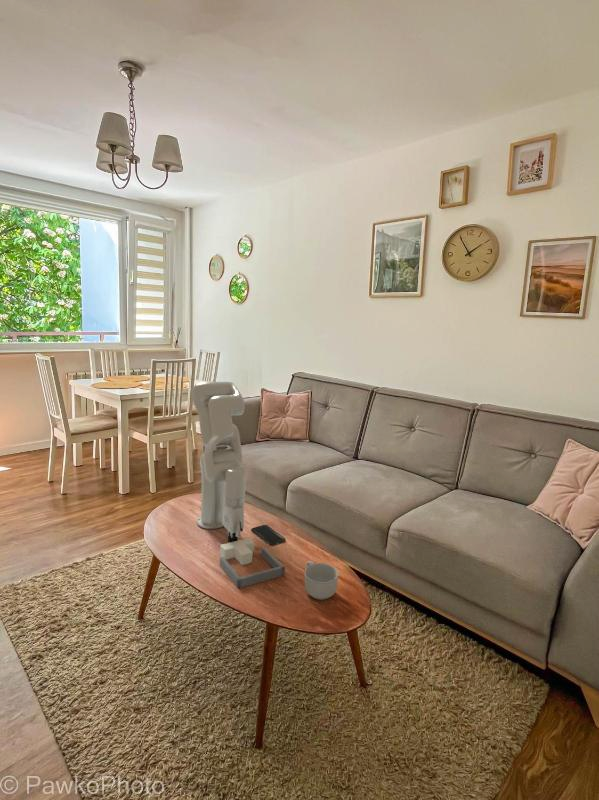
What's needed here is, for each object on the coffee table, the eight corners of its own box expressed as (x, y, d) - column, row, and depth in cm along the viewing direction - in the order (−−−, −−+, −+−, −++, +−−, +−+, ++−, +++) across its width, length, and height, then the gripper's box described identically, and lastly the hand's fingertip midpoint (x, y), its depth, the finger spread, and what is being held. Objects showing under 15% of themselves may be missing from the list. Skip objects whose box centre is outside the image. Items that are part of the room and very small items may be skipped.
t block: (219, 554, 162) (220, 544, 162) (248, 547, 169) (249, 537, 168) (231, 568, 154) (232, 557, 154) (261, 559, 161) (262, 549, 160)
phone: (265, 524, 187) (286, 539, 176) (265, 526, 188) (286, 541, 176) (249, 528, 183) (270, 544, 171) (249, 531, 183) (269, 547, 171)
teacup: (341, 602, 140) (343, 579, 138) (308, 606, 137) (310, 582, 135) (326, 577, 153) (328, 556, 151) (296, 580, 150) (297, 558, 148)
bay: (219, 565, 156) (220, 557, 155) (263, 554, 165) (264, 546, 164) (238, 588, 143) (238, 580, 143) (284, 575, 152) (284, 567, 152)
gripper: (217, 494, 168) (215, 539, 171) (233, 509, 156) (231, 557, 159) (235, 491, 172) (233, 535, 175) (252, 506, 160) (250, 552, 163)
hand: (232, 545), depth 167 cm, fingers closed
